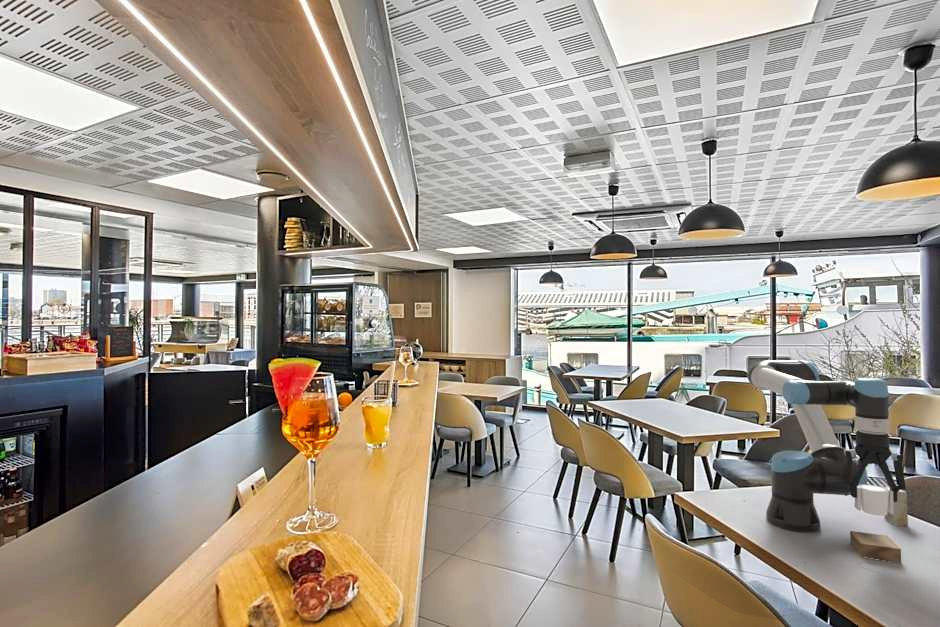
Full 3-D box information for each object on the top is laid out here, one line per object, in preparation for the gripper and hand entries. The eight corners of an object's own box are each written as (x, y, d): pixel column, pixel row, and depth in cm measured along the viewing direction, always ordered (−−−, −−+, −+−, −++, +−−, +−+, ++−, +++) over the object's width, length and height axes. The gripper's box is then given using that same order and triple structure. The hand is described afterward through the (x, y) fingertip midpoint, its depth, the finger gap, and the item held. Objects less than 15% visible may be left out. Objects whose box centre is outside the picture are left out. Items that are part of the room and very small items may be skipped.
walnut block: (861, 557, 138) (861, 543, 138) (850, 544, 146) (850, 530, 146) (901, 563, 134) (900, 549, 134) (887, 549, 143) (887, 535, 143)
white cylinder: (853, 508, 143) (852, 484, 143) (874, 507, 144) (873, 483, 144) (874, 517, 136) (873, 492, 137) (896, 516, 137) (895, 491, 137)
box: (908, 526, 158) (907, 492, 159) (893, 525, 159) (892, 491, 159) (897, 519, 163) (897, 487, 164) (883, 518, 164) (882, 486, 165)
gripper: (835, 431, 141) (836, 510, 141) (921, 437, 134) (923, 520, 133) (827, 426, 148) (828, 501, 148) (909, 431, 140) (910, 510, 140)
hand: (873, 510), depth 140 cm, fingers closed on white cylinder, 7 cm apart
